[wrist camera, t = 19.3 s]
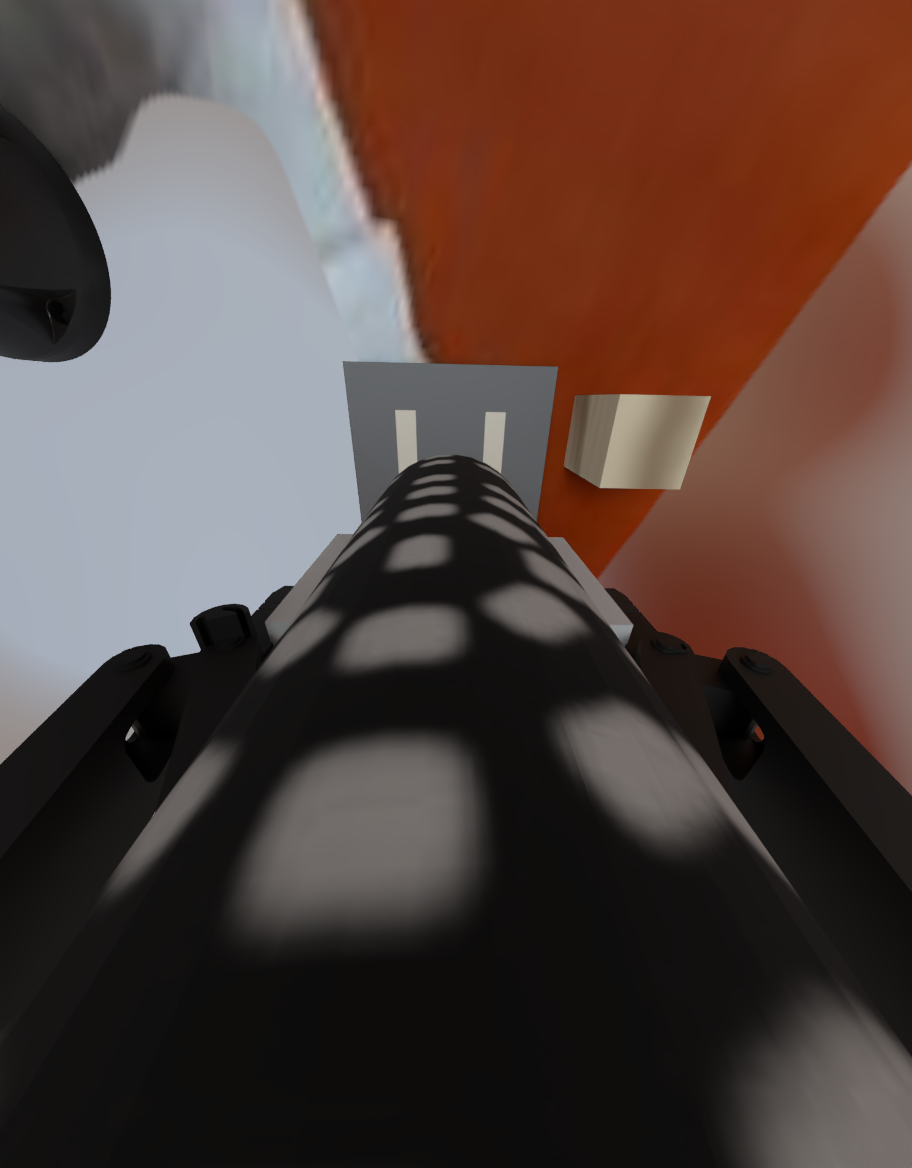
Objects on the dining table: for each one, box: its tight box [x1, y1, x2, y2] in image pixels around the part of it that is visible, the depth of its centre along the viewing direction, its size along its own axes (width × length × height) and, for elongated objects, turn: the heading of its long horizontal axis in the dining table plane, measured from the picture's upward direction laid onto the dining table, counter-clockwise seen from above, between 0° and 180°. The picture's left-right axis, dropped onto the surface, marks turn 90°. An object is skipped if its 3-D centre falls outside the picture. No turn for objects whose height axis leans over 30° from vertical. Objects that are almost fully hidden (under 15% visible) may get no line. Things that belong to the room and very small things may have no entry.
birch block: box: [564, 394, 711, 489], centre depth 27 cm, size 6×6×9 cm
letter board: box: [343, 361, 558, 522], centre depth 33 cm, size 18×18×1 cm
